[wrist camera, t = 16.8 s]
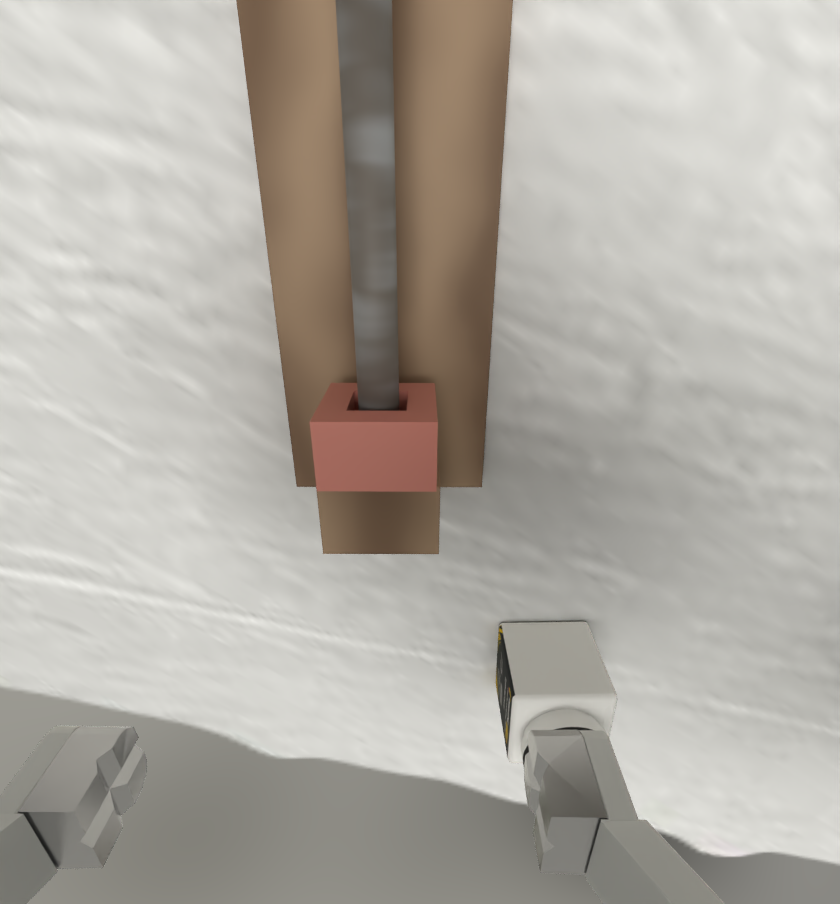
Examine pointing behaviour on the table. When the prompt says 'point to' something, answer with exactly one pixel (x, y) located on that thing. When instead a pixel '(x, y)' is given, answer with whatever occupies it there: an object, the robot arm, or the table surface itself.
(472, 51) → the rod stand
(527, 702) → the medicine bottle
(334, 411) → the square nut
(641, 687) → the table surface
